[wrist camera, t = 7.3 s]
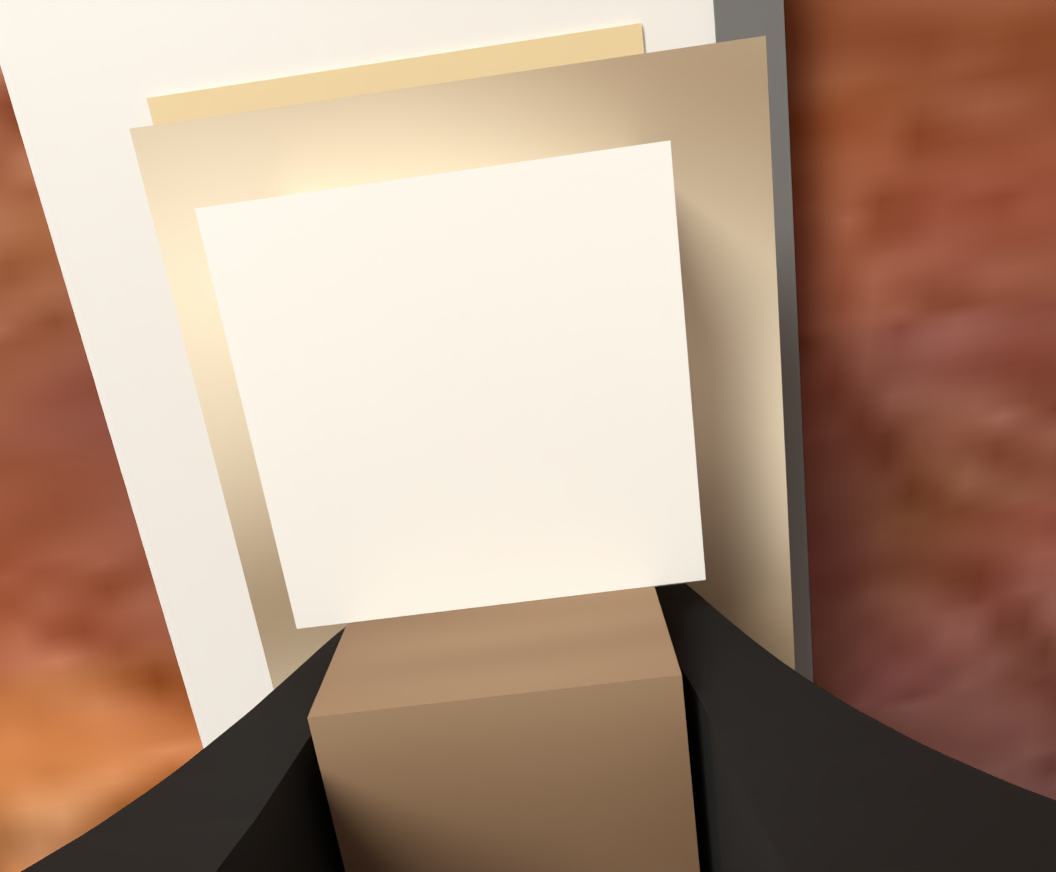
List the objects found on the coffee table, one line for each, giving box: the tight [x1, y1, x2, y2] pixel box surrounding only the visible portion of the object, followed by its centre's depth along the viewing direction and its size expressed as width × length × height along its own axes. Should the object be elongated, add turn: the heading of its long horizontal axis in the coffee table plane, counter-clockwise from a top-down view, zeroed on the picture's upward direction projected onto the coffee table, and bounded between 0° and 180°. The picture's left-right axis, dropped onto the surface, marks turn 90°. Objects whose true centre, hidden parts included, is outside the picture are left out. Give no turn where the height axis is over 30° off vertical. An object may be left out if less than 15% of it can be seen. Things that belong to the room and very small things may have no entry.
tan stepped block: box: [130, 36, 795, 872], centre depth 10 cm, size 14×7×6 cm, turn 8°
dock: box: [0, 0, 814, 748], centre depth 18 cm, size 20×14×3 cm
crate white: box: [194, 140, 706, 629], centre depth 9 cm, size 4×4×2 cm
